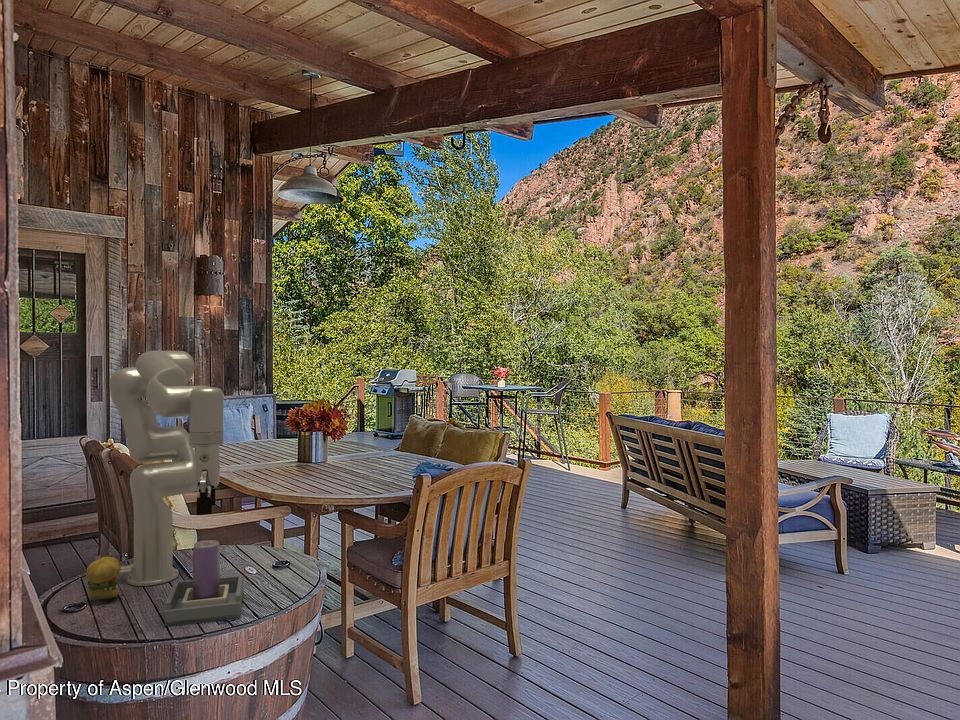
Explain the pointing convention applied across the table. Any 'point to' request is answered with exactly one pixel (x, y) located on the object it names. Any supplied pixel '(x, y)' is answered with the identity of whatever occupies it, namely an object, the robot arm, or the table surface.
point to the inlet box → (204, 603)
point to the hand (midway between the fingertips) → (206, 509)
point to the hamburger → (103, 577)
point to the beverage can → (206, 570)
